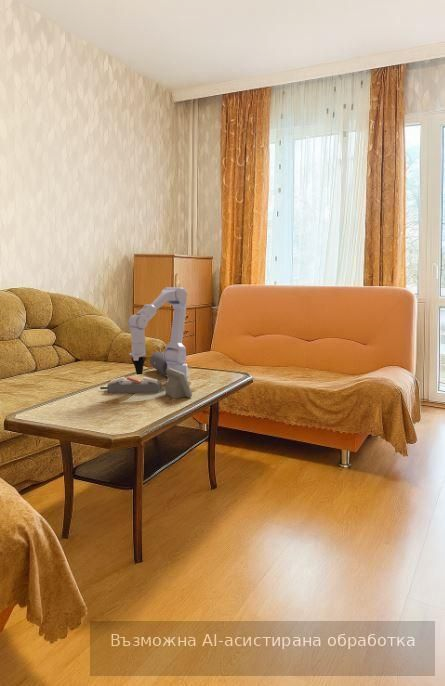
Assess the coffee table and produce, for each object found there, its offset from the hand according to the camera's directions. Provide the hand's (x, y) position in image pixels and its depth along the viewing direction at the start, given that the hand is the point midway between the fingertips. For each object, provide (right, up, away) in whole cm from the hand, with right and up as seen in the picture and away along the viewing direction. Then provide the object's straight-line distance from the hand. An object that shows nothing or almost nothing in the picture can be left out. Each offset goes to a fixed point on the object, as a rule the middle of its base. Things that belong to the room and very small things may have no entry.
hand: (139, 374), depth 224 cm
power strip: (-4, -7, +3) cm, 9 cm away
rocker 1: (-9, -3, 0) cm, 10 cm away
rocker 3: (+5, -3, 0) cm, 5 cm away
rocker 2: (-2, -3, 0) cm, 4 cm away
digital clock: (+18, -9, -6) cm, 20 cm away
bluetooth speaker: (+6, -2, +38) cm, 39 cm away
